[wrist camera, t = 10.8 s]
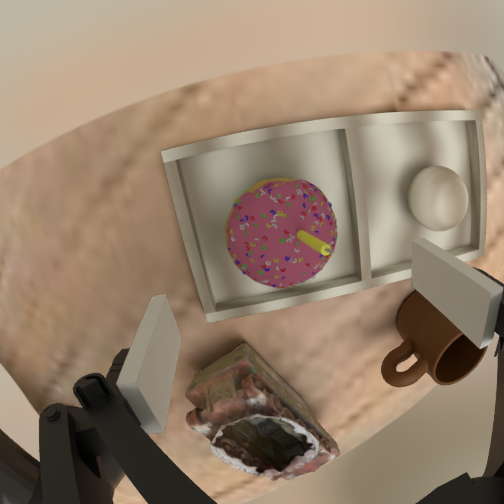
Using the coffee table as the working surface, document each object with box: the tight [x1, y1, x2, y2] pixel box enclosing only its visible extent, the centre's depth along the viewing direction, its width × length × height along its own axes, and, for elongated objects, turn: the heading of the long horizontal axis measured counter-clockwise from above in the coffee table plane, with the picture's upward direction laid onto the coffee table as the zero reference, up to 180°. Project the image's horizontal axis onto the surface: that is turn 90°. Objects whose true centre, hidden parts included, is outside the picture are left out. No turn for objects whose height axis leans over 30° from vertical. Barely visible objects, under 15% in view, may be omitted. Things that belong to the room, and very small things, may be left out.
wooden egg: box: [408, 166, 468, 231], centre depth 25 cm, size 6×6×6 cm
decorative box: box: [185, 342, 340, 481], centre depth 32 cm, size 13×20×10 cm, turn 30°
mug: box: [381, 291, 488, 387], centre depth 30 cm, size 12×8×9 cm, turn 110°
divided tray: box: [161, 110, 487, 323], centre depth 28 cm, size 31×16×2 cm, turn 101°
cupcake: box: [225, 177, 338, 288], centre depth 23 cm, size 9×8×12 cm
